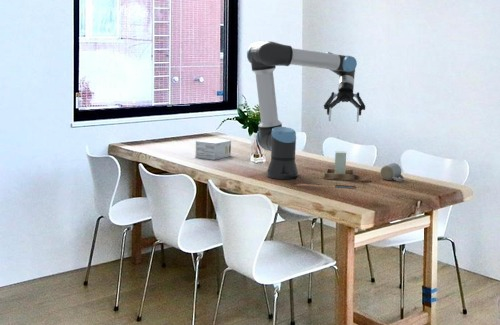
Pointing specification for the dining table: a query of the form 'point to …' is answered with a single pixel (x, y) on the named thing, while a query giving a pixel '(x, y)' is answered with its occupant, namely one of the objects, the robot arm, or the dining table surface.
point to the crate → (339, 175)
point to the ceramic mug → (391, 172)
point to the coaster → (344, 186)
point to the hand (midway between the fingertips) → (343, 119)
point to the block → (340, 162)
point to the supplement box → (213, 148)
